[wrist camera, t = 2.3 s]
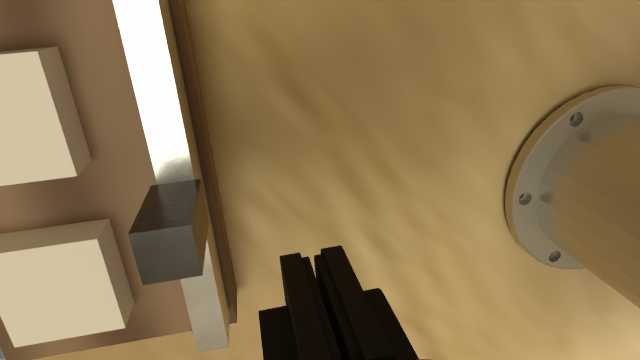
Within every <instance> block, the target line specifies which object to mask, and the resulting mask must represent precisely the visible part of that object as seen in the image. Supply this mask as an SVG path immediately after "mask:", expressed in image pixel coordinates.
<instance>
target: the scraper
mask: <svg viewBox="0 0 640 360" xmlns="http://www.w3.org/2000/svg"><path fill="white" fill-rule="evenodd" d="M113 4H114V8H115V12H116V17H117V21H118V25H119V29H120V33H121V37H122V41H123V45H124V50H125V54H126V58H127V62H128V66H129V70H130V74H131V78H132V83H133V87H134V91H135V95H136V99H137V103H138V107H139V111H140V116H141V120H142V124H143V128H144V132H145V136H146V140H147V144H148V149H149V153H150V157H151V161H152V165H153V169H154V173H155V178H156V182H157V185H151V186H150V189H149V191H148V193H147V195H146V197H145V199H144V201H143V203H142V205H141V208H140V210H139V212H138V214H137V216H136V218H135V220H134V222H133V225H132V227H131V229H130V231H129V233H128V236H129V240H130V243H131V247H132V250H133V254H134V257H135V261H136V264H137V268H138V271H139V275H140V278H141V282H142V285H148V284H154V283H160V282H166V281H172V280H178V279H180V281H181V285H182V289H183V293H184V297H185V301H186V305H187V310H188V314H189V318H190V322H191V326H192V330H193V334H194V339H195V343H196V347H197V351H198V352H204V351H209V350H214V349H220V348H225V347H229V315H230V314H229V309H228V303H227V298H226V293H225V288H224V283H223V278H222V273H221V268H220V263H219V258H218V252H217V247H216V242H215V237H214V232H213V227H212V222H211V217H210V212H209V207H208V201H207V196H206V191H205V186H204V181H203V176H202V171H201V166H200V161H199V156H198V150H197V145H196V140H195V135H194V130H193V125H192V120H191V115H190V110H189V105H188V99H187V94H186V89H185V84H184V79H183V74H182V69H181V64H180V59H179V54H178V48H177V43H176V38H175V33H174V28H173V23H172V18H171V13H170V8H169V2H168V0H113Z"/></svg>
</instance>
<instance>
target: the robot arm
mask: <svg viewBox="0 0 640 360" xmlns="http://www.w3.org/2000/svg"><path fill="white" fill-rule="evenodd" d="M505 212H506V218H507V222H508V225H509V229H510V231H511V233H512V235H513V236H514V238H515V240H516V242H517V243H518V244H519V245H520V246H521V247H522V248H523V249H524V250H525V251H526V252H528V253H529V254H530V255H531V256H533V257H534V258H535V259H536V260H538V261H539V262H541V263H543V264H545V265H548V266H551V267H556V268H561V269H582V268H587V269H588V270H590V271H591V272H592V273H594V274H595V275H596V276H598V277H599V278H600V279H602V280H603V281H604V282H606V283H607V284H608V285H610V286H611V287H612V288H614V289H615V290H616V291H618V292H619V293H620V294H622V295H623V296H624V297H626V298H627V299H628V300H630V301H631V302H632V303H634V304H635V305H636V306H637V307H639V308H640V88H638V87H632V86H622V85H618V86H610V87H602V88H599V89H596V90H593V91H589V92H586V93H583V94H582V95H580V96H578V97H576V98H574V99H572V100H570V101H568V102H566V103H565V104H564V105H562V106H561V107H560V108H558V109H557V110H556V111H554V112H553V113H552V114H550V115H549V116H548V117H547V118H546V119H545V120H544V121H543V122H542V123H541V124H540V125H539V126H538V127H537V128H536V129H535V130H534V132H533V133H532V134H531V136H530V137H529V139H528V140H527V141H526V143H525V144H524V145H523V147H522V149H521V151H520V152H519V154H518V156H517V158H516V160H515V162H514V164H513V167H512V170H511V173H510V176H509V179H508V182H507V188H506V195H505ZM314 261H315V272H316V277H315V274H314V271H313V268H312V265H311V262H310V259H309V257H303V258H301V254H300V253H295V254H289V255H283V256H280V263H281V271H282V279H283V286H284V294H285V302H286V306H282V307H277V308H272V309H267V310H261V311H259V321H260V330H261V339H262V349H263V358H264V360H431V359H419V358H418V356H417V355H416V353H415V351H414V349H413V347H412V345H411V343H410V342H409V340H408V338H407V336H406V334H405V332H404V331H403V329H402V327H401V325H400V323H399V321H398V320H397V318H396V316H395V314H394V312H393V310H392V308H391V307H390V305H389V303H388V301H387V299H386V297H385V296H384V294H383V292H382V291H381V289H379V288H376V289H371V290H365V291H363V289H362V287H361V285H360V283H359V281H358V279H357V277H356V275H355V273H354V271H353V269H352V266H351V264H350V262H349V260H348V258H347V256H346V254H345V252H344V250H343V248H342V246H335V247H329V248H323V249H321V254H320V255H315V256H314Z"/></svg>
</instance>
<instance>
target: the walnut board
mask: <svg viewBox="0 0 640 360" xmlns="http://www.w3.org/2000/svg"><path fill="white" fill-rule="evenodd" d="M168 2H169V8H170V13H171V18H172V23H173V28H174V33H175V38H176V43H177V48H178V54H179V59H180V64H181V69H182V74H183V79H184V84H185V89H186V94H187V99H188V105H189V110H190V115H191V120H192V125H193V130H194V135H195V140H196V145H197V150H198V156H199V161H200V166H201V171H202V176H203V181H204V186H205V191H206V196H207V201H208V207H209V212H210V217H211V222H212V227H213V232H214V237H215V242H216V247H217V252H218V258H219V263H220V268H221V273H222V278H223V283H224V288H225V293H226V298H227V303H228V309H229V314H230V315H229V324H231V323H237V289H236V283H235V278H234V272H233V267H232V261H231V256H230V251H229V245H228V240H227V234H226V229H225V223H224V218H223V212H222V207H221V201H220V196H219V190H218V185H217V180H216V174H215V169H214V163H213V158H212V152H211V147H210V141H209V136H208V130H207V125H206V119H205V114H204V109H203V103H202V98H201V92H200V87H199V81H198V76H197V70H196V65H195V59H194V54H193V48H192V43H191V38H190V32H189V27H188V21H187V16H186V10H185V5H184V0H168ZM56 46H58V49H59V52H60V56H61V59H62V62H63V66H64V69H65V72H66V76H67V79H68V82H69V86H70V89H71V92H72V96H73V99H74V102H75V106H76V109H77V112H78V116H79V119H80V122H81V126H82V129H83V132H84V136H85V139H86V142H87V146H88V149H89V152H90V156H91V159H92V161H91V162H90V163H89V164H88V165H87V166H86V167H85V168H84V169H83V170H82V171H81V173H80V174H79V175H78V176H75V177H67V178H59V179H52V180H44V181H36V182H28V183H20V184H13V185H5V186H0V234H4V233H11V232H18V231H25V230H32V229H39V228H46V227H53V226H60V225H67V224H74V223H81V222H88V221H95V220H102V219H110V223H111V226H112V229H113V233H114V236H115V239H116V243H117V246H118V249H119V253H120V256H121V259H122V263H123V266H124V269H125V273H126V276H127V279H128V283H129V286H130V289H131V293H132V296H133V299H134V305H133V308H132V310H131V313H130V316H129V319H128V322H127V325H126V328H123V329H118V330H112V331H106V332H101V333H95V334H89V335H84V336H78V337H72V338H66V339H61V340H55V341H49V342H44V343H38V344H32V345H27V346H21V347H14V345H13V343H12V341H11V339H10V336H9V334H8V332H7V330H6V328H5V325H4V323H3V321H2V319H1V317H0V348H1V350H2V352H3V354H4V356H5V358H6V360H31V359H37V358H43V357H48V356H54V355H59V354H65V353H70V352H76V351H81V350H87V349H92V348H98V347H104V346H109V345H115V344H120V343H126V342H131V341H137V340H142V339H148V338H154V337H159V336H165V335H170V334H176V333H181V332H187V331H192V326H191V322H190V318H189V314H188V310H187V305H186V301H185V297H184V293H183V289H182V285H181V281H180V279H178V280H172V281H166V282H160V283H154V284H148V285H142V282H141V278H140V275H139V271H138V268H137V264H136V261H135V257H134V254H133V250H132V247H131V243H130V240H129V236H128V233H129V231H130V229H131V227H132V225H133V222H134V220H135V218H136V216H137V214H138V212H139V210H140V208H141V205H142V203H143V201H144V199H145V197H146V195H147V193H148V191H149V189H150V186H151V185H157V182H156V178H155V173H154V169H153V165H152V161H151V157H150V153H149V149H148V144H147V140H146V136H145V132H144V128H143V124H142V120H141V116H140V111H139V107H138V103H137V99H136V95H135V91H134V87H133V83H132V78H131V74H130V70H129V66H128V62H127V58H126V54H125V50H124V45H123V41H122V37H121V33H120V29H119V25H118V21H117V17H116V12H115V8H114V4H113V0H0V52H1V51H12V50H23V49H34V48H45V47H56Z"/></svg>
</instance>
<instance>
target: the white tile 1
mask: <svg viewBox="0 0 640 360" xmlns="http://www.w3.org/2000/svg"><path fill="white" fill-rule="evenodd" d="M91 161H92V159H91V156H90V152H89V149H88V146H87V142H86V139H85V136H84V132H83V129H82V126H81V122H80V119H79V116H78V112H77V109H76V106H75V102H74V99H73V96H72V92H71V89H70V86H69V82H68V79H67V76H66V72H65V69H64V66H63V62H62V59H61V56H60V52H59V49H58V46H56V47H45V48H34V49H23V50H12V51H1V52H0V186H5V185H13V184H20V183H28V182H36V181H44V180H52V179H59V178H67V177H75V176H78V175H79V174H80V173H81V171H82V170H83V169H84V168H85V167H86V166H87V165H88V164H89V163H90V162H91Z"/></svg>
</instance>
